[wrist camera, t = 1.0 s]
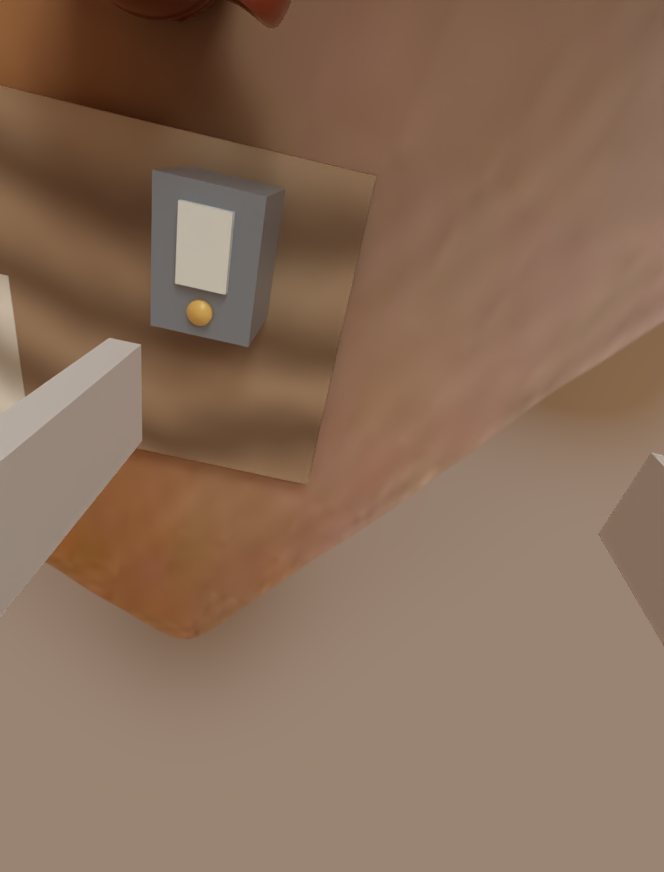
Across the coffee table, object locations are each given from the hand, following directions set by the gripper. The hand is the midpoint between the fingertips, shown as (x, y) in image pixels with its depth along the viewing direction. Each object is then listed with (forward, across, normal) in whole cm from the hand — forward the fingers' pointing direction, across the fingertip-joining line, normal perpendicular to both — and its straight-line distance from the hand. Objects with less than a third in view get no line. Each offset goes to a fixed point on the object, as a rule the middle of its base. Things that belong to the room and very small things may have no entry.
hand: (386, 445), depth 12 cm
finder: (+17, -8, 0) cm, 19 cm away
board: (+19, -16, -3) cm, 25 cm away
